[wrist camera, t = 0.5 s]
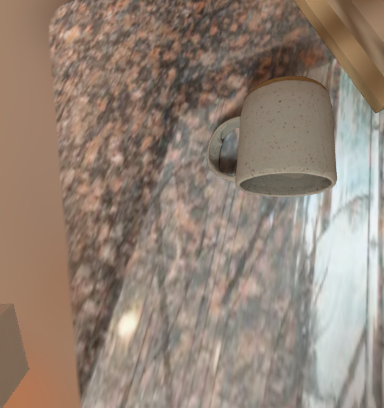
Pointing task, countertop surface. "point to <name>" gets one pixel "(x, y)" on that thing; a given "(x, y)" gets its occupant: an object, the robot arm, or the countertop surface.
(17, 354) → the robot arm
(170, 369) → the countertop surface
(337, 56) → the wooden block with ridges
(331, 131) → the speckled stoneware cup
